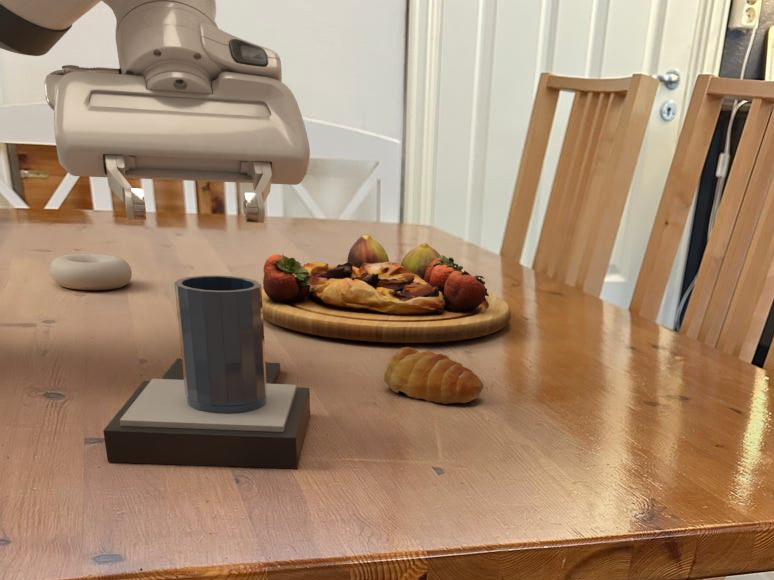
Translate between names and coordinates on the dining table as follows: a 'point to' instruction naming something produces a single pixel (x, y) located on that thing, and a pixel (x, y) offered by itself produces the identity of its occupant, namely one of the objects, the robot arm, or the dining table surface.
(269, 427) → the scale
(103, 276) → the donut
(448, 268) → the wooden plate
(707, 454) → the dining table surface
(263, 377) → the cup
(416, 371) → the pastry
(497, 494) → the dining table surface
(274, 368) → the pad
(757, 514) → the dining table surface
